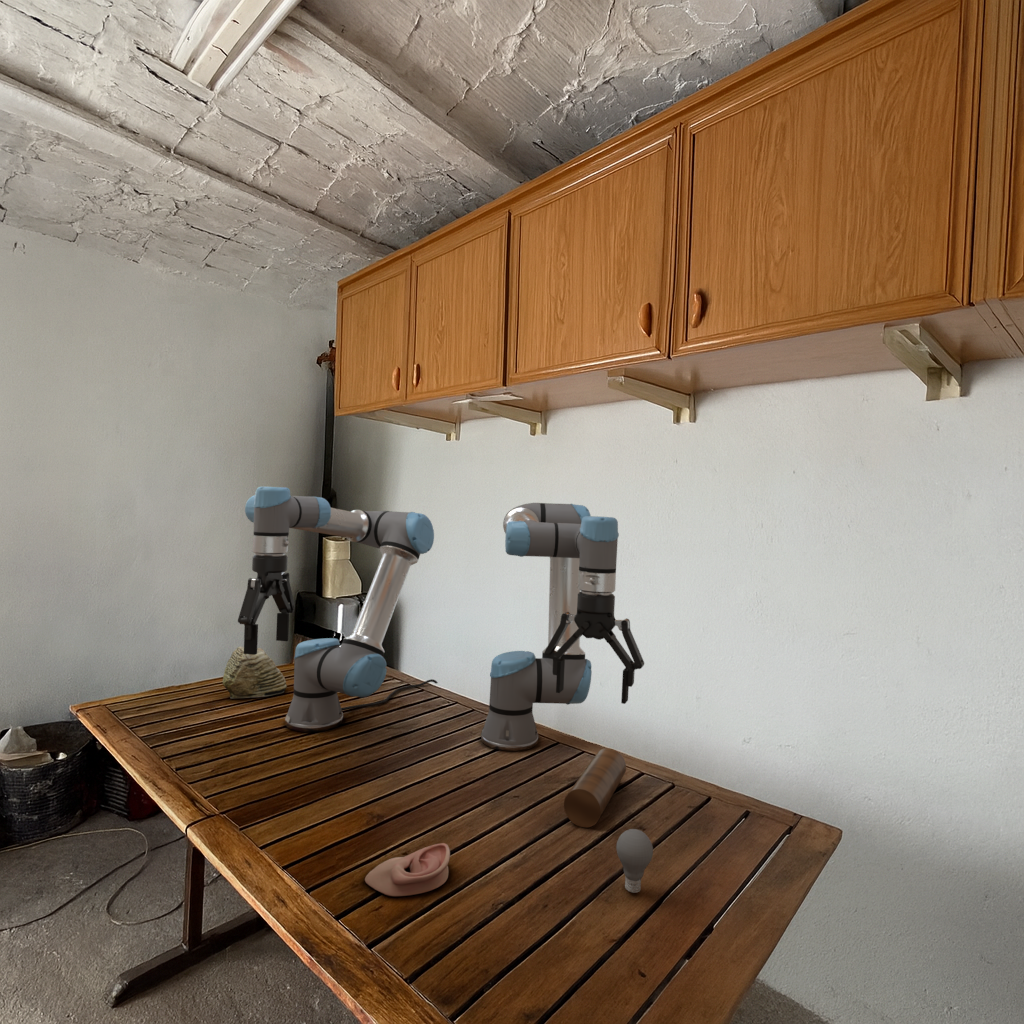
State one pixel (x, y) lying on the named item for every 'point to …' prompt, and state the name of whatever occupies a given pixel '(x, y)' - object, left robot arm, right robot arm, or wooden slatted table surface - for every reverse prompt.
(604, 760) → the rod
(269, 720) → the wooden slatted table surface
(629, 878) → the light bulb
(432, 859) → the anatomical model
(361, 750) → the wooden slatted table surface
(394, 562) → the left robot arm
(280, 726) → the wooden slatted table surface
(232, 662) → the fossil
